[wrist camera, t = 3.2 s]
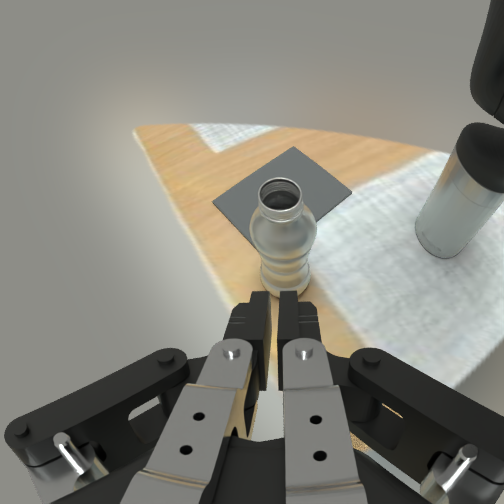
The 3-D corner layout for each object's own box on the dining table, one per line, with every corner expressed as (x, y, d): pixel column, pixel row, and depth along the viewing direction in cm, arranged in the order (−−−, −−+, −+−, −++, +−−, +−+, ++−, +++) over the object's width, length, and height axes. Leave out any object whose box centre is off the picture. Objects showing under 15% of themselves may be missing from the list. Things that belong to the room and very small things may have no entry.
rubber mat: (293, 147, 54) (293, 146, 53) (351, 193, 48) (352, 191, 48) (212, 202, 50) (212, 201, 50) (267, 261, 44) (267, 259, 44)
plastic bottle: (275, 252, 45) (261, 155, 27) (317, 271, 43) (332, 180, 25) (253, 289, 43) (224, 209, 25) (297, 311, 41) (300, 241, 23)
